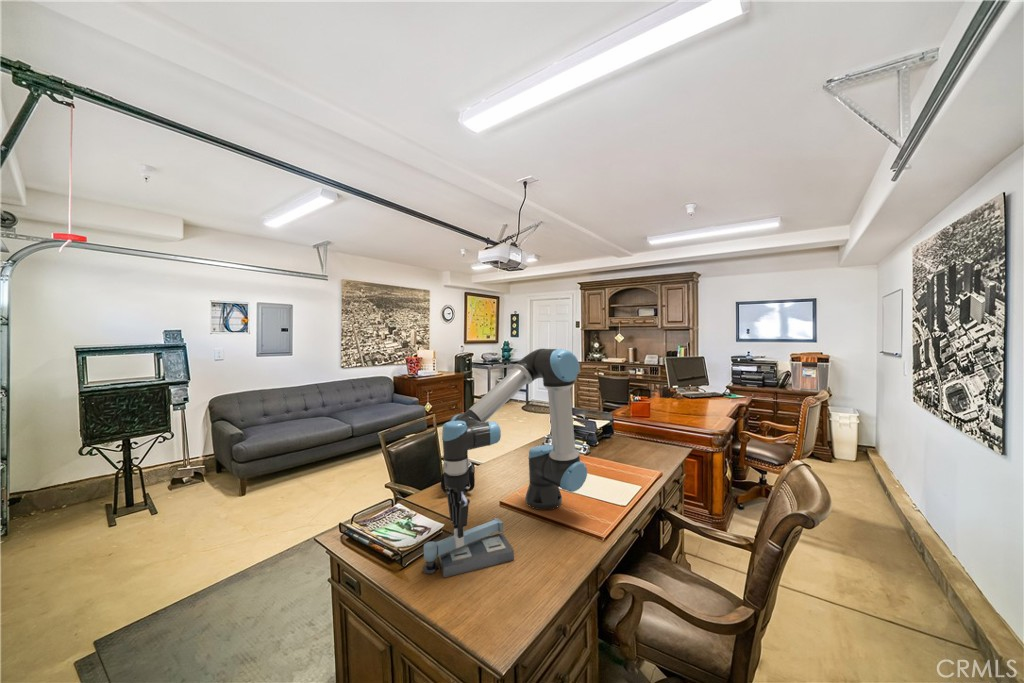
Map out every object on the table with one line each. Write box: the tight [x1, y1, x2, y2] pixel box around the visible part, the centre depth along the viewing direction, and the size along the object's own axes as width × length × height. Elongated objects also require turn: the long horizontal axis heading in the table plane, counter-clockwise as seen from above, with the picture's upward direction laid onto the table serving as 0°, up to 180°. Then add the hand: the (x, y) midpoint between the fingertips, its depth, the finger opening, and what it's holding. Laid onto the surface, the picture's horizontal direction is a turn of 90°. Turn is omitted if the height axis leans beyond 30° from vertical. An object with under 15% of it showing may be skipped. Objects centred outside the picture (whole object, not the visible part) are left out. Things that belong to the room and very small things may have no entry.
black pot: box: [440, 460, 476, 493], centre depth 166 cm, size 16×16×12 cm
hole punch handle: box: [423, 517, 504, 562], centre depth 117 cm, size 27×4×4 cm, turn 125°
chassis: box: [437, 532, 515, 579], centre depth 116 cm, size 22×11×3 cm, turn 110°
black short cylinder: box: [422, 559, 440, 576], centre depth 111 cm, size 5×5×4 cm
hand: (459, 546), depth 114 cm, fingers closed
